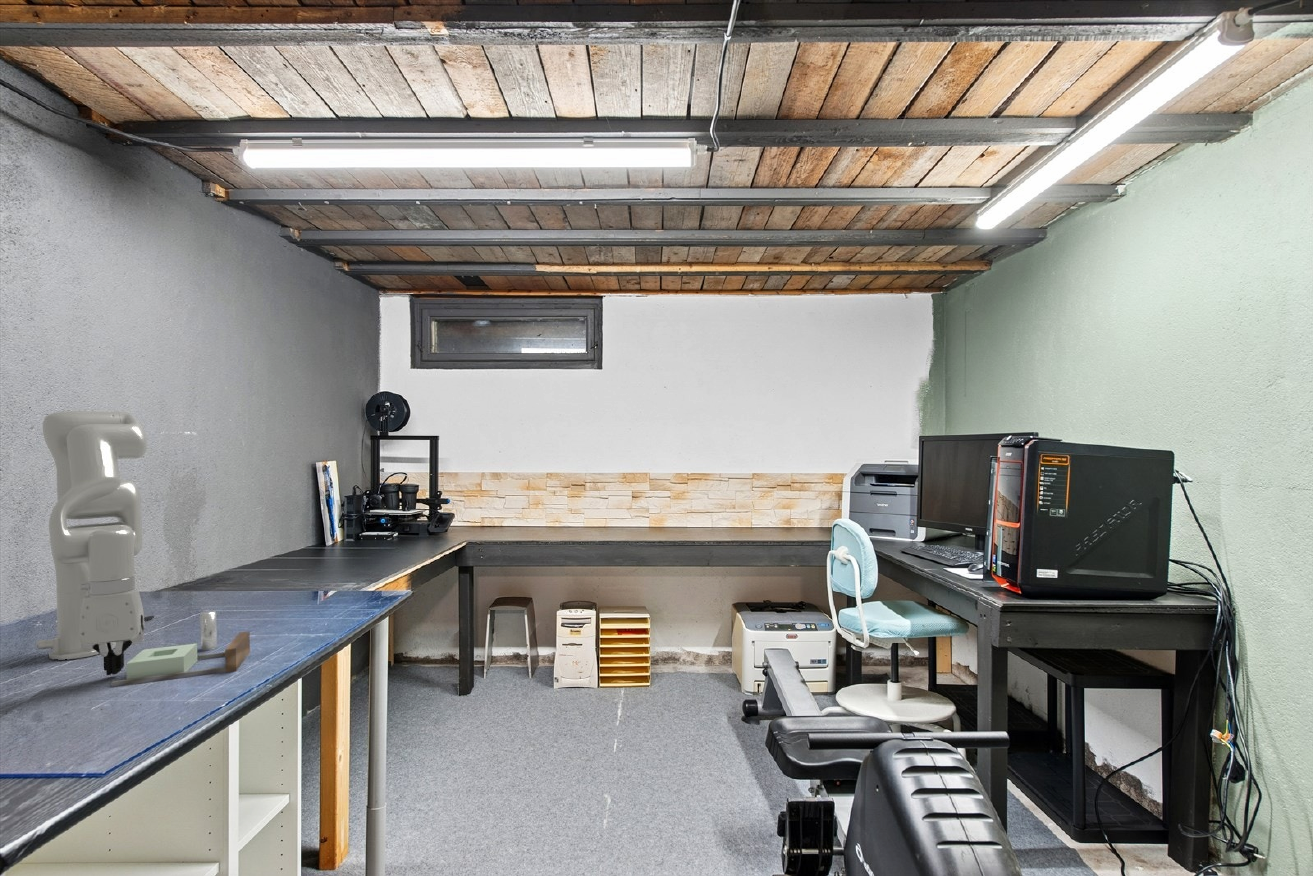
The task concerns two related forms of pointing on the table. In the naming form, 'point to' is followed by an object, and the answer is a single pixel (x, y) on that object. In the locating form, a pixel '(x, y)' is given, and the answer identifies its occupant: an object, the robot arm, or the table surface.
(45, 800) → the table surface
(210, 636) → the grey round-ended peg
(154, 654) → the sliding block
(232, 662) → the rail board
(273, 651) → the table surface
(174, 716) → the table surface
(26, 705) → the table surface
